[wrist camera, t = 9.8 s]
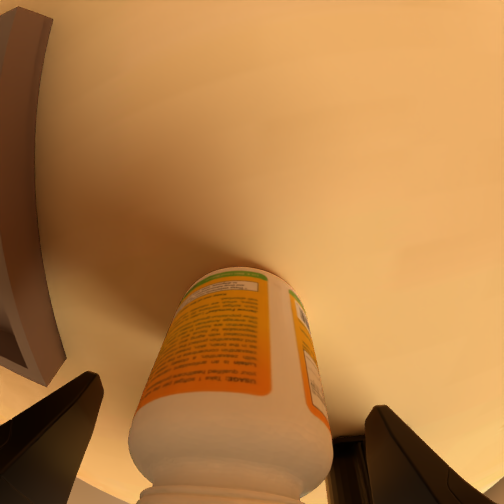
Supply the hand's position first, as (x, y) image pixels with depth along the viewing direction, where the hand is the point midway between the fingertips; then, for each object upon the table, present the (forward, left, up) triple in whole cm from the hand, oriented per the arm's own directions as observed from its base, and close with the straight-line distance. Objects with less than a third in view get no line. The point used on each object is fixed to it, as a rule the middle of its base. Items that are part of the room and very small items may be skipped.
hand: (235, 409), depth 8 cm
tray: (+4, +15, -5) cm, 16 cm away
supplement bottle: (0, 0, -5) cm, 5 cm away
